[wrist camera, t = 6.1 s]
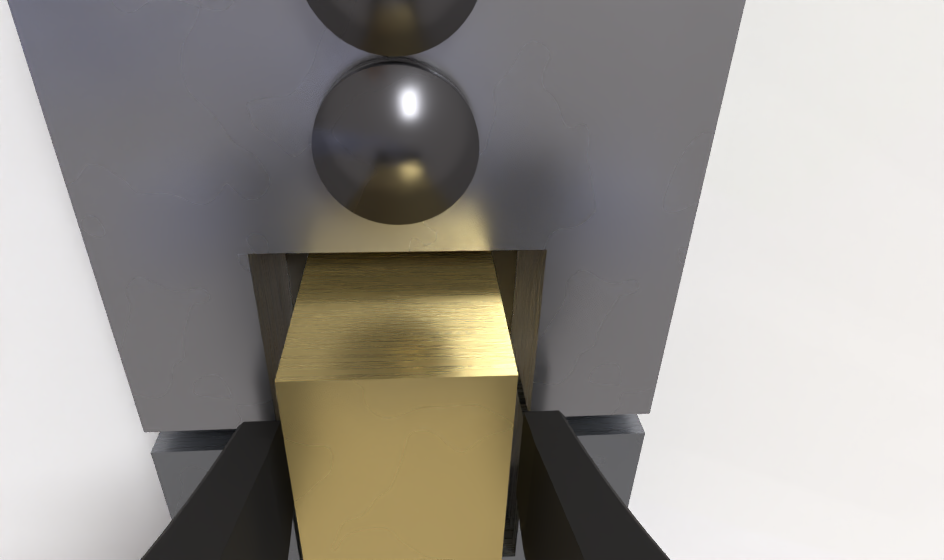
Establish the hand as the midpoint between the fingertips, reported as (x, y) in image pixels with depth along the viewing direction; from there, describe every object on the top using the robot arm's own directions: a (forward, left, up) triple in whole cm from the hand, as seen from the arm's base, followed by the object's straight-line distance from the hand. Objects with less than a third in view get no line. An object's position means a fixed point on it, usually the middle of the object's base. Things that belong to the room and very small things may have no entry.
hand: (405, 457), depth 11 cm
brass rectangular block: (0, 0, -3) cm, 3 cm away
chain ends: (0, 0, -3) cm, 3 cm away
